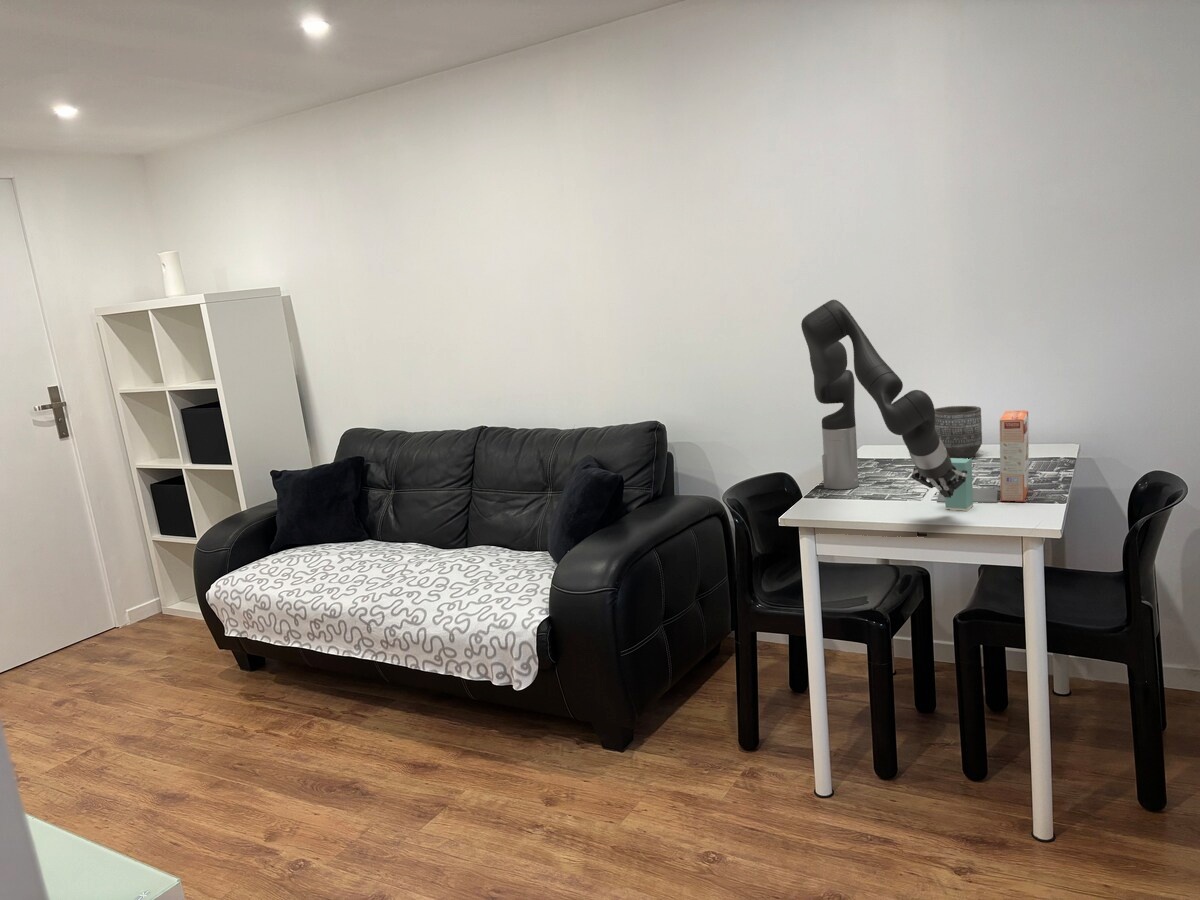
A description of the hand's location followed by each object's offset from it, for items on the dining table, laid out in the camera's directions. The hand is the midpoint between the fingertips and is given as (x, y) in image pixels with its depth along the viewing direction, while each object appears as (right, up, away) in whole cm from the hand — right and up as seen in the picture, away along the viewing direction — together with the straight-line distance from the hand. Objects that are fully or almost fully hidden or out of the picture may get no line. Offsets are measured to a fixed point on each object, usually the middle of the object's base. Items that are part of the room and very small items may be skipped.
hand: (948, 494), depth 208 cm
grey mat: (+11, -1, +16) cm, 20 cm away
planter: (+28, +8, +63) cm, 70 cm away
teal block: (+5, -4, +7) cm, 9 cm away
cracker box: (+22, -1, +13) cm, 25 cm away
